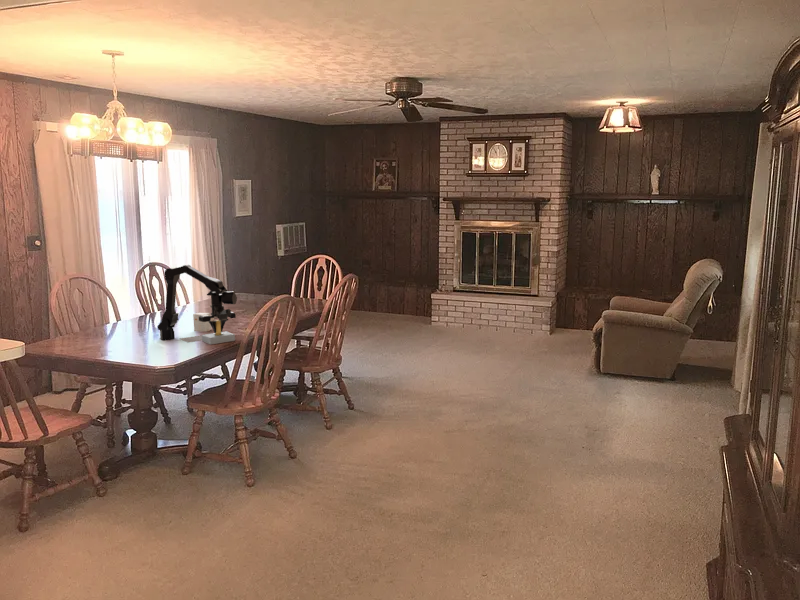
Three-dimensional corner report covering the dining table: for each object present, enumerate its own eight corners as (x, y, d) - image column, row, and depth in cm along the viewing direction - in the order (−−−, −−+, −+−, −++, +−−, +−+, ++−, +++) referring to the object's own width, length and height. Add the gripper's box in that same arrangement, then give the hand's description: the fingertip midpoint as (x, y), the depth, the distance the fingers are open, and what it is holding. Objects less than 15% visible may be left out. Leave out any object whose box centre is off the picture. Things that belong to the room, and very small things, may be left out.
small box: (211, 330, 383) (210, 312, 382) (206, 332, 378) (205, 314, 376) (199, 330, 385) (198, 312, 384) (193, 332, 380) (193, 313, 378)
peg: (217, 338, 353) (216, 321, 351) (214, 337, 355) (213, 320, 354) (222, 337, 355) (221, 320, 353) (219, 336, 357) (219, 319, 355)
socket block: (210, 345, 347) (210, 338, 346) (202, 342, 354) (201, 334, 354) (235, 341, 356) (234, 334, 355) (226, 338, 363) (226, 331, 363)
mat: (188, 343, 352) (188, 342, 351) (179, 339, 360) (179, 338, 360) (212, 339, 360) (212, 338, 360) (203, 336, 369) (203, 334, 369)
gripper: (206, 307, 340) (208, 337, 342) (240, 303, 352) (241, 332, 354) (197, 304, 348) (199, 333, 351) (230, 301, 360) (231, 329, 363)
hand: (218, 332), depth 354 cm, fingers closed on peg, 3 cm apart
